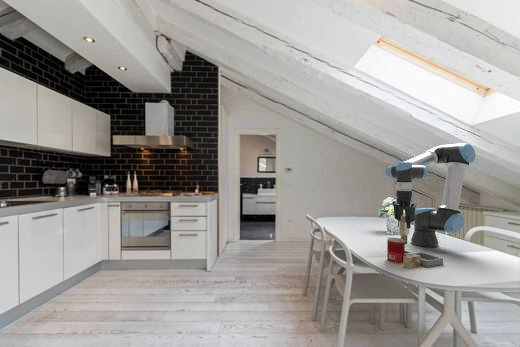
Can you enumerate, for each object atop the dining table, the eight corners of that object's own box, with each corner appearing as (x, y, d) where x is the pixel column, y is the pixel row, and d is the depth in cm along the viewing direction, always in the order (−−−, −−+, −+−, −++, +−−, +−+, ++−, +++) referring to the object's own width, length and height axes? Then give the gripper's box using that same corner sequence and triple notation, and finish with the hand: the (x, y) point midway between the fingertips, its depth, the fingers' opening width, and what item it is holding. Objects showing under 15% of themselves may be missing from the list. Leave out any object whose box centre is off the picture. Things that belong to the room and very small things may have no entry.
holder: (402, 253, 157) (402, 249, 157) (415, 257, 150) (415, 253, 150) (391, 255, 154) (391, 250, 154) (404, 259, 147) (404, 254, 147)
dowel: (403, 242, 154) (403, 215, 154) (408, 244, 151) (408, 216, 151) (399, 243, 153) (399, 215, 153) (404, 244, 150) (404, 216, 150)
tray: (420, 257, 150) (420, 252, 150) (443, 264, 139) (443, 258, 139) (404, 260, 145) (404, 254, 145) (426, 267, 134) (426, 261, 134)
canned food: (406, 263, 140) (406, 241, 140) (389, 262, 142) (389, 240, 142) (402, 259, 148) (402, 238, 148) (385, 258, 149) (385, 237, 149)
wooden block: (414, 264, 139) (415, 254, 139) (420, 266, 136) (420, 255, 136) (403, 266, 136) (403, 255, 136) (408, 268, 133) (409, 257, 133)
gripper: (386, 189, 158) (386, 231, 158) (412, 191, 143) (412, 237, 143) (396, 189, 161) (396, 230, 161) (422, 190, 146) (422, 236, 146)
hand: (404, 233), depth 152 cm, fingers closed on dowel, 3 cm apart
